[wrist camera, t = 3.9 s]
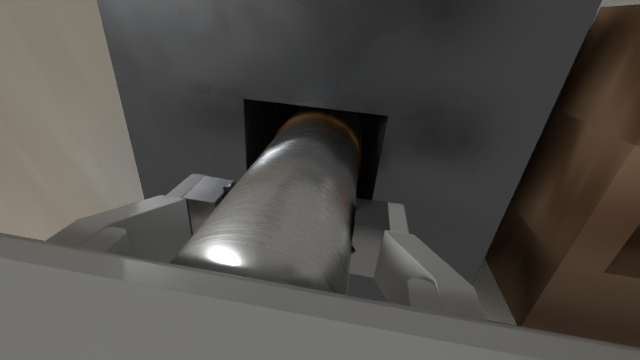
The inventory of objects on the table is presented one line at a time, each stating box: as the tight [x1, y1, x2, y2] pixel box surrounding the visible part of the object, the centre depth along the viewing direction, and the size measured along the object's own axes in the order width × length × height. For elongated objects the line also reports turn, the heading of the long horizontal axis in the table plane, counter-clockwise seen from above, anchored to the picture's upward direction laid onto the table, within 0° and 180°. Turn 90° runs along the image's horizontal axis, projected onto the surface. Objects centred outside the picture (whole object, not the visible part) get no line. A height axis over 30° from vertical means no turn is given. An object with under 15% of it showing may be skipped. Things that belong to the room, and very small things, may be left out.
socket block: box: [97, 0, 602, 302], centre depth 15 cm, size 16×16×5 cm
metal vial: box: [170, 106, 362, 295], centre depth 11 cm, size 4×4×12 cm
